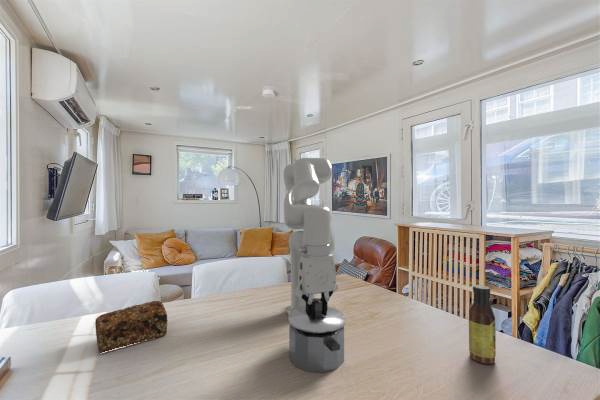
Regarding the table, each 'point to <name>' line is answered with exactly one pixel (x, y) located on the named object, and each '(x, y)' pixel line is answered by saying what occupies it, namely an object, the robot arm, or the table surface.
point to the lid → (317, 319)
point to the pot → (316, 350)
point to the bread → (131, 325)
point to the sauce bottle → (482, 327)
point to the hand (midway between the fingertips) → (316, 314)
